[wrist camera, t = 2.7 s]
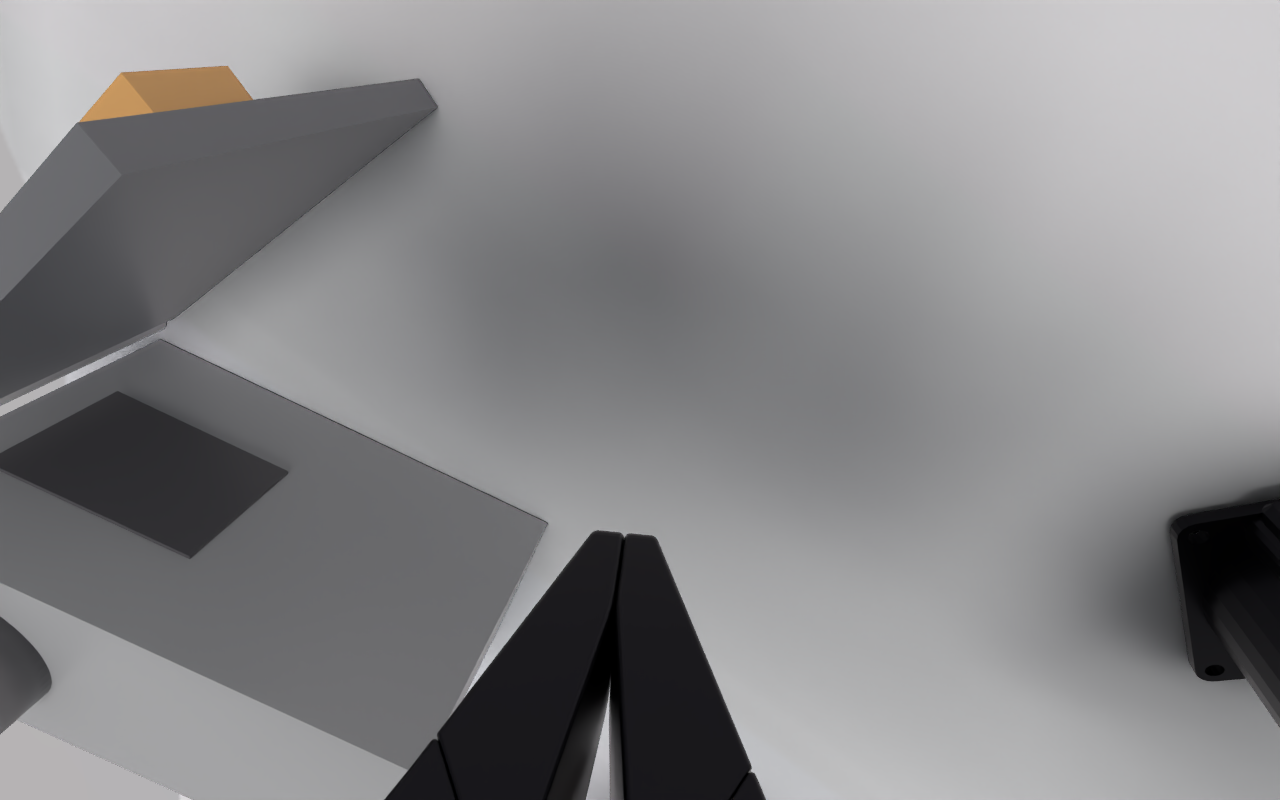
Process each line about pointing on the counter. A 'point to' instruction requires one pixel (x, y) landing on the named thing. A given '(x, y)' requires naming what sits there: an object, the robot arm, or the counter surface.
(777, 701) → the counter surface
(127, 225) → the side door
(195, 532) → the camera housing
